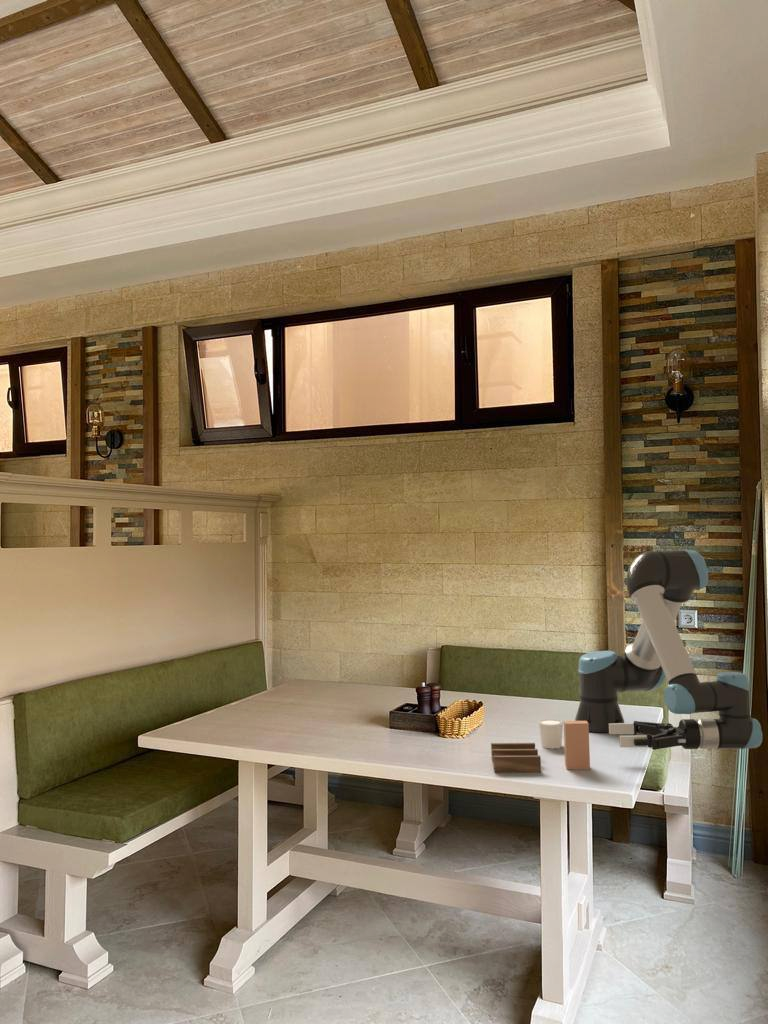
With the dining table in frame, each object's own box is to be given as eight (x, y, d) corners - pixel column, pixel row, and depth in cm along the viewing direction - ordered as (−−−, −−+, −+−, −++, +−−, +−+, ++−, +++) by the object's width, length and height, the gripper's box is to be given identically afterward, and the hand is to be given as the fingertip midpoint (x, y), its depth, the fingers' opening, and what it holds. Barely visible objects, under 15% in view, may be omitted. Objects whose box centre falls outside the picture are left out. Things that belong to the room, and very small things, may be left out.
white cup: (564, 749, 224) (563, 725, 224) (539, 749, 225) (539, 724, 226) (563, 743, 231) (562, 719, 231) (539, 742, 232) (538, 719, 232)
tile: (565, 766, 209) (563, 720, 209) (588, 766, 208) (586, 720, 208) (566, 769, 206) (565, 723, 206) (590, 769, 205) (588, 723, 205)
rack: (491, 757, 218) (491, 743, 219) (535, 757, 218) (534, 742, 218) (494, 772, 205) (494, 757, 205) (540, 772, 204) (540, 756, 204)
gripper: (714, 761, 192) (625, 762, 193) (683, 736, 217) (605, 737, 218) (712, 730, 192) (624, 731, 194) (682, 709, 217) (604, 710, 219)
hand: (614, 734), depth 206 cm, fingers open, 13 cm apart
